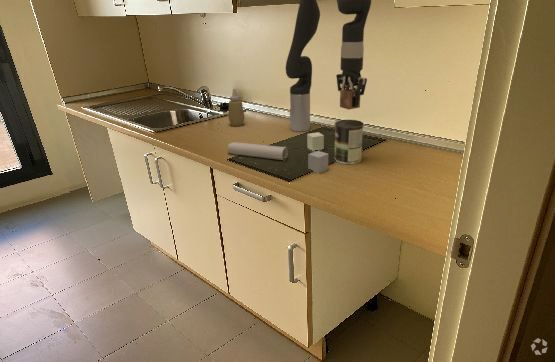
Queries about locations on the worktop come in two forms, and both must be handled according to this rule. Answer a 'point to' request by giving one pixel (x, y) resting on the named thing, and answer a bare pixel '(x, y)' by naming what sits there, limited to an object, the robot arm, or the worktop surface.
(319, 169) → the slate grey block
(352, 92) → the robot arm
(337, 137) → the coffee can
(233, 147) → the tube
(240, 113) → the squeeze bottle
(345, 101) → the walnut block
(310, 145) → the pale sage block
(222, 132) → the worktop surface
